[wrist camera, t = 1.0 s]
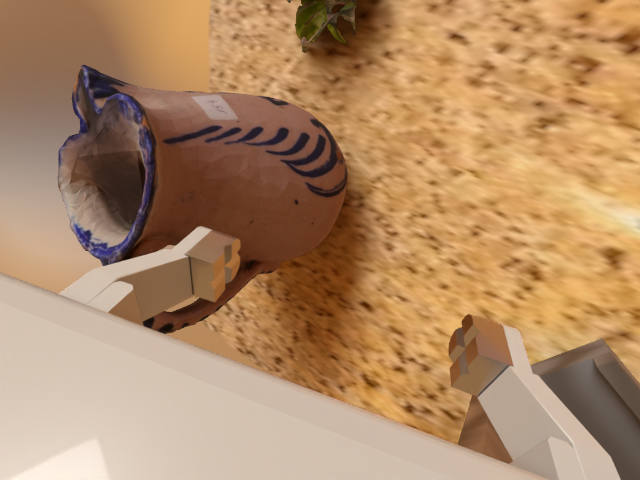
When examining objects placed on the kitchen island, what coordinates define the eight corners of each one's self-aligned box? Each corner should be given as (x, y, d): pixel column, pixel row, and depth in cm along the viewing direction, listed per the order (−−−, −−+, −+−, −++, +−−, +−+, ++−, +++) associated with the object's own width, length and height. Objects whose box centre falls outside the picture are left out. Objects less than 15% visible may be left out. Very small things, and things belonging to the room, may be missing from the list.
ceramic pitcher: (343, 92, 37) (115, -59, 17) (397, 260, 35) (212, 329, 14) (248, 156, 47) (28, 111, 26) (286, 291, 45) (78, 359, 24)
